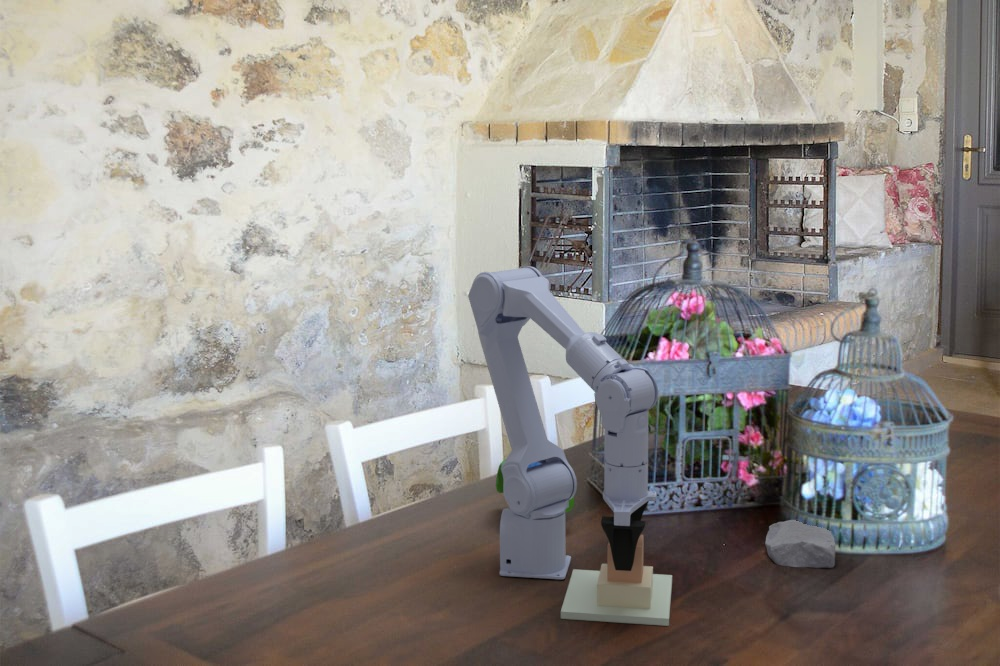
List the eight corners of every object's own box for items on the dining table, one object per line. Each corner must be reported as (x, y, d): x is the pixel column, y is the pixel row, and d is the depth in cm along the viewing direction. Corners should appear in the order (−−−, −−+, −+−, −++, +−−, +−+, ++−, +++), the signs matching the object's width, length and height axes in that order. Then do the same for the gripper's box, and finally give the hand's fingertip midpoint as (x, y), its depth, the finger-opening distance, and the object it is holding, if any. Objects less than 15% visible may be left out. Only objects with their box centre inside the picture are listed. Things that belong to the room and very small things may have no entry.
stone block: (771, 578, 158) (841, 569, 156) (765, 547, 158) (835, 538, 156) (767, 550, 170) (832, 542, 168) (761, 521, 169) (827, 512, 167)
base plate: (560, 618, 142) (560, 589, 141) (573, 575, 156) (573, 549, 155) (668, 625, 140) (669, 596, 139) (672, 581, 153) (672, 555, 152)
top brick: (607, 580, 144) (607, 545, 143) (610, 567, 148) (610, 532, 147) (641, 583, 143) (641, 547, 142) (643, 569, 147) (643, 534, 147)
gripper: (654, 479, 135) (653, 582, 137) (659, 446, 149) (658, 539, 152) (597, 476, 136) (597, 578, 139) (607, 444, 150) (607, 537, 153)
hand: (625, 558), depth 145 cm, fingers open, 7 cm apart
